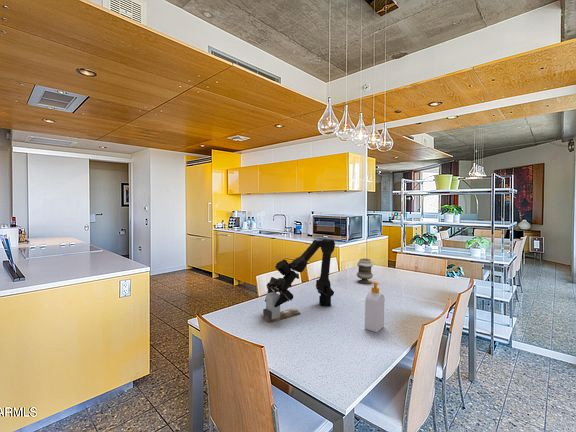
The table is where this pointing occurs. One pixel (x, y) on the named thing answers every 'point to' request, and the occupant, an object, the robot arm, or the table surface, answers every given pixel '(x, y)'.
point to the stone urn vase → (364, 270)
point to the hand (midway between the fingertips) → (270, 304)
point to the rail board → (283, 314)
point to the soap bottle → (374, 309)
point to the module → (271, 301)
